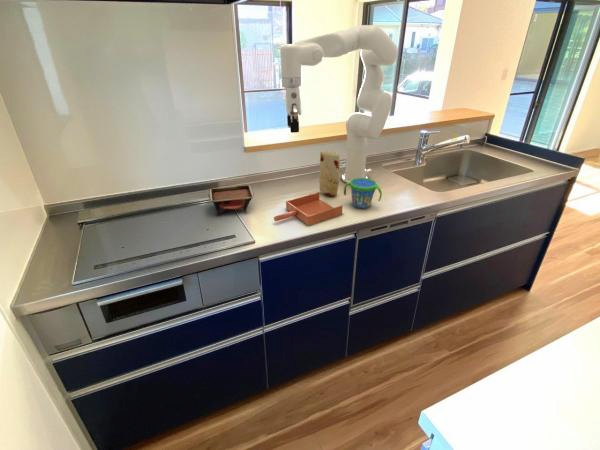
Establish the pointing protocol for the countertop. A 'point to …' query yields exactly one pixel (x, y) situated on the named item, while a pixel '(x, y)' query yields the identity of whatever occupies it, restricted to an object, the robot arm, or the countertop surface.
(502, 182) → the countertop surface
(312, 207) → the scoop
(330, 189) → the food model
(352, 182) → the snack cup
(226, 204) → the baking dish
